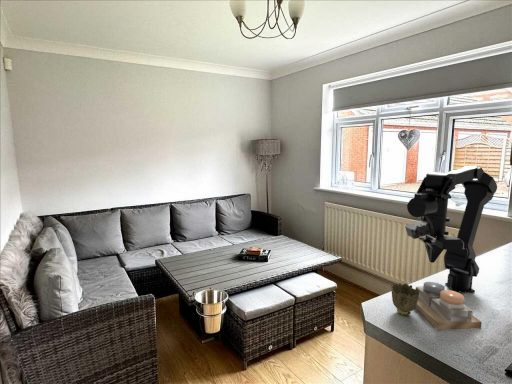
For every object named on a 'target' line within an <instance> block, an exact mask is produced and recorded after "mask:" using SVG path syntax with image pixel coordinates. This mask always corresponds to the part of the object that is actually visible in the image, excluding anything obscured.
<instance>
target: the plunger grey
mask: <svg viewBox="0 0 512 384" xmlns="http://www.w3.org/2000/svg"><path fill="white" fill-rule="evenodd" d="M422 286H423V289H424V290H425V291H426V292H427V293H429V294H430V295H440V292H441V291H443V290H446V288H445V287H446V286H444V284H441V283H439V282H434V281H425V282H423V285H422Z"/></svg>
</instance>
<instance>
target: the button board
mask: <svg viewBox="0 0 512 384" xmlns="http://www.w3.org/2000/svg"><path fill="white" fill-rule="evenodd" d="M423 286H424V285H422V286H415V289H416V288H418V290H420V292H419V297H418V301H417V305H416V307H415V309H414V310H416V311H417V312H418V313H419V314H420V315H421V316H422V317H423V318H424V319H425V320H427V321H428V322H429V323H430V325H432V326H433V327H434V329H436V330H437V331H447V330H449V331H451V330H481V329H482V325H483V324H482V321H481V320H480V319H478V317H476V316H475V315H473V310H472V309H471V308H469V307H468V306H466V305H465V304H463V309H448V308H447V307H445V306H444V305H443V304H442V303H440V295H430V294H429V293H427V292H426V291H425V290H424V289H423Z"/></svg>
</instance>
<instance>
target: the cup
mask: <svg viewBox="0 0 512 384" xmlns="http://www.w3.org/2000/svg"><path fill="white" fill-rule="evenodd" d="M419 292H420V290H418V288H416V287H415V288H413V285H412V284H410V285H409V284H407V283H403V284H401V282H399V284H398V283H393V284H392V285H391V298H392V299H391V301H392V304H393V306H394V307H395V308H396V312H397V314H399V315H400V316H403V317H408V316H410V315H411V312H412V311H414V310H416V309H415V307H416V305H417V301H418V297H419Z"/></svg>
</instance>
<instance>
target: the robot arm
mask: <svg viewBox="0 0 512 384" xmlns="http://www.w3.org/2000/svg"><path fill="white" fill-rule="evenodd" d="M460 184H461V185H462V186H463V188H464V196H465V199H466V205H465V209H464V212H463V215H462V219H461V222H460V226H459V230H458V233H457V237H456V236H454V235H449V231H447V230H446V227H447V223H450V221H451V218H450V217H448V216H447V215H448V207H449V206H448V205H449V199H452V198H453V197H452V195H451V194H450V192H452V191H453V190H455V189H456V186H457V185H460ZM497 190H498V183H497V182H496V180H495V179H494V177H493V176H492V175H490V174H488V173H487V172H485V171H484V170H483V167H480V166H472V165H471V166H469V165H465V166H463V167H460V168H458V169H454V170H450V171H447V172H438V171H437V172H435V171H433V172H431V171H430V172H428V173H426V174H425V176H424V177H423V179H422V181H421V184H420V185H419V187H418V189H417V191H416V193H414V195H413V198H411V199H410V200H409V201H408V203H407V204H406V209H407V212H408V213H409V215H411V217H414V218H420V220H418V221H417V220H416V221H413V222H411V223H408V224H406V225H404V228H405V231H406V234H407V236H408V237H411V239H414V240H416V239H418V240H419V241H420V242H422V243H423V244H424V246H425V250H426V253H427V254H426V255H427V257H428V262H430V263H432V264H433V263H436V261H437V259H438V258H439V257H440V255H441V254H442V253H443V251H444V250H445V253H444V255H443V262H444V263H443V264H444V269H446V270H449V272H448V274H447V282H445V283H444V285H445V286H446V287H448V288H449V289H452V291H455V292H458V293H475V292H476V291H475V289H473V278H474V277H478V274H479V273H480V267H479V265H478V264H477V262H476V256H477V255H476V252H475V250H474V246H473V245H474V242H475V238H476V235H477V233H478V229H479V224H480V221H481V218H482V214H483V210H484V207H485V205H487V204H488V203H489V202H490V201H492V199H493V198H494V195H495V194H496V192H497Z"/></svg>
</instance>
